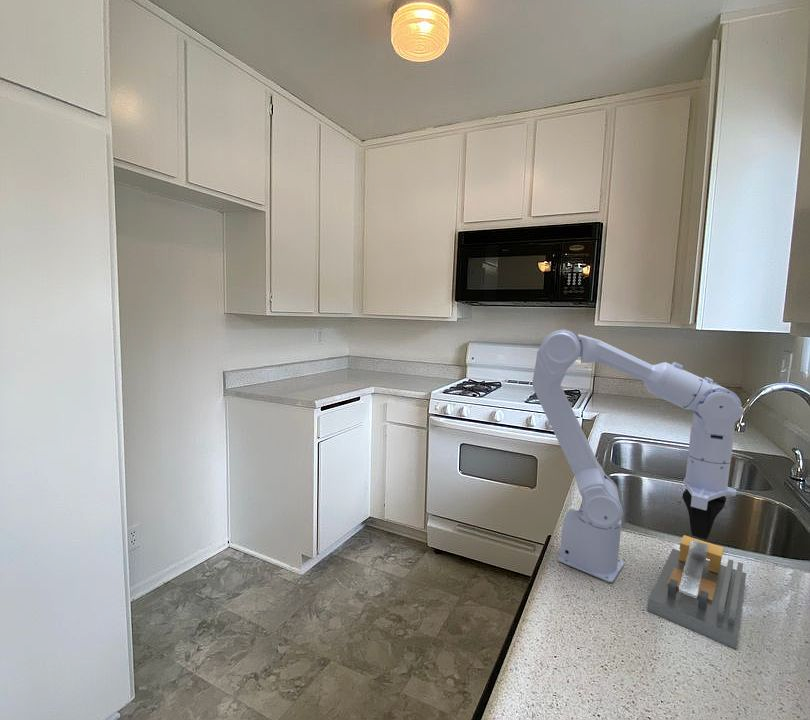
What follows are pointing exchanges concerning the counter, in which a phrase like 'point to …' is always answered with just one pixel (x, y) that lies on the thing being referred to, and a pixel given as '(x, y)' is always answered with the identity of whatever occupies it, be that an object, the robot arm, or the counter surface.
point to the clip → (712, 553)
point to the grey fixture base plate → (701, 600)
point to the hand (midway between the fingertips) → (699, 536)
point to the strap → (693, 569)
